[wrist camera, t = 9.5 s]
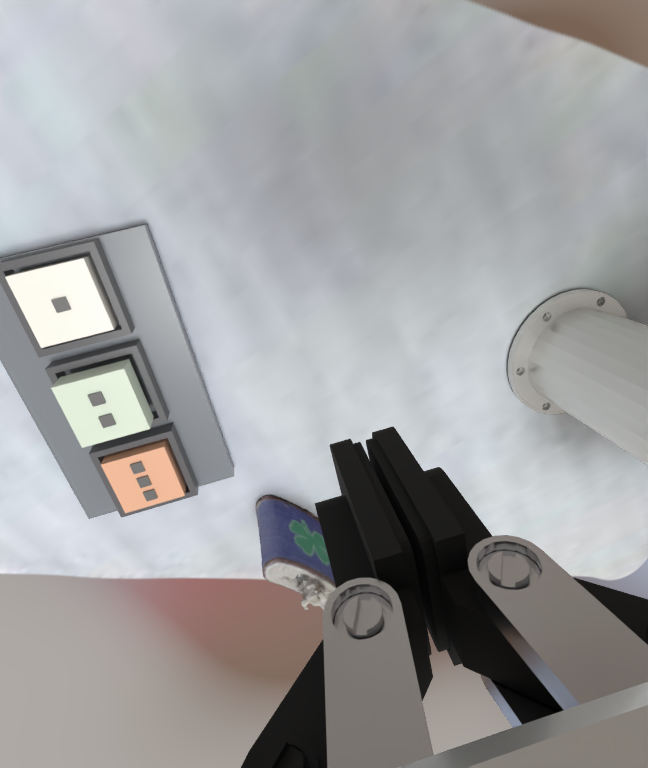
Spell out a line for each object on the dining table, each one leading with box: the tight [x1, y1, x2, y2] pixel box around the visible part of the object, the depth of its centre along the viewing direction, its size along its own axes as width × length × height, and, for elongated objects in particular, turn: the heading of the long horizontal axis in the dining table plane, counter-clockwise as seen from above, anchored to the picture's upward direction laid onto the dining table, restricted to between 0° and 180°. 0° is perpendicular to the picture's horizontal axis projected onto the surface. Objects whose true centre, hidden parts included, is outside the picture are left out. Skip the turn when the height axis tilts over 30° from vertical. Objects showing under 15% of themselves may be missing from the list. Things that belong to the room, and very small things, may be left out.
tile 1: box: [5, 254, 119, 348], centre depth 32 cm, size 5×5×2 cm
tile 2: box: [51, 359, 154, 448], centre depth 34 cm, size 5×5×2 cm
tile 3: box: [101, 438, 186, 513], centre depth 38 cm, size 5×5×2 cm
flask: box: [256, 495, 336, 610], centre depth 42 cm, size 9×3×11 cm, turn 47°
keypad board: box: [0, 224, 234, 519], centre depth 36 cm, size 13×22×3 cm, turn 12°
